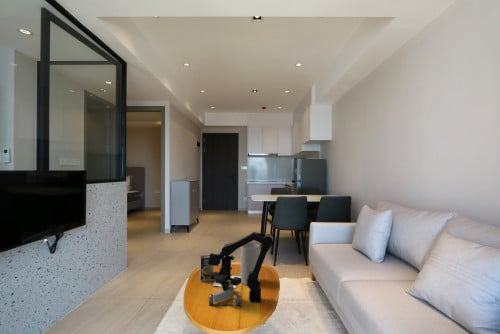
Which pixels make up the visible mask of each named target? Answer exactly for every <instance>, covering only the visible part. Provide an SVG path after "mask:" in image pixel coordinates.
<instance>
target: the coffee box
mask: <svg viewBox="0 0 500 334" xmlns="http://www.w3.org/2000/svg"><path fill="white" fill-rule="evenodd" d="M209 257H210V254H208V255H199V281H200V282H201V283H203V282H213V281H214V280H213V279H210V275H211V274H212V273H213V272H215V271H214V270H215V268H214V267H215V266H212V265H209V264H208V261H209Z"/></svg>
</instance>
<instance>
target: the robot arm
mask: <svg viewBox="0 0 500 334" xmlns="http://www.w3.org/2000/svg"><path fill="white" fill-rule="evenodd" d="M252 241H255V242H258V243H260V244H261V249H260V250H259V256H258V259H257V262H256V264H255V267H254V270H253V271H252V272H251V271H250V272H249V276H248V277H247V280H246V282H247V285H246V286H247V287H248V289H249V292H248V298H249V299H248V300H249V303H262V289H261V286H262V283H261V281H260V280H259V281H258V275H259V276H260V272H261V269H262V267H263V263H264V261H265V259H266V255H267V253H268V251H269V250H270V248H271V247H272V245H273V243H274V242H273V241H274V237H273V235H271V234H270V233H269V234H268V233H267V234H265V233H263V232H262V233H260V232H256V231H252V232H251V233H249V234H248V235H246V236H244V237H242V238H240V239H238V240H237V241H236V240H235V241H234V242H229V243H226V244H224V245H223V247H222V248H221V251H220V252H219V253H211V252H210V254H209V255H210V257H209V261H208V264H209V265H212V266H214V267H219V265H221V266H220V268H219V272H218V271H214V272H213V273H212V274H211V275H210V279H213V281H214V280H215V283H219V284H220V285H221V288H222V292H223V291H226V290H227V288H228V286H229V284H232V285H234V286H239V285H241V284H242V283H241V277H238V276H234V277H232V276H233V275H232V274H231V270H232V269H233V267H232V261H234V260H235V256H234V255H233V253H235V252H236V251H237V250H238V249H239V248H240V249H241V247H242V246H243V245H245V244H247V243H252Z"/></svg>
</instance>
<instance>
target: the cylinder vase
mask: <svg viewBox="0 0 500 334" xmlns="http://www.w3.org/2000/svg"><path fill="white" fill-rule="evenodd" d="M259 254H260V245H259V244H258V243H256V242H249V243H247V244H245V245H243V246H242V247H240V278H241V283H240V284H242V285H244V286H247V282H246V280H247V277H248V276H249V272H250V271H251V272H252V271H253V270H254V267H255V264H256V262H257V259H258V256H259ZM258 281H259V282H260V274H259V275H258Z"/></svg>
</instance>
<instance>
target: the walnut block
mask: <svg viewBox="0 0 500 334" xmlns="http://www.w3.org/2000/svg"><path fill="white" fill-rule="evenodd" d="M234 286H235V285H232V284H231V283H230V284H229V286H228V288H227V290H229V289H233V293H234V291H235V289H234Z"/></svg>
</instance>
